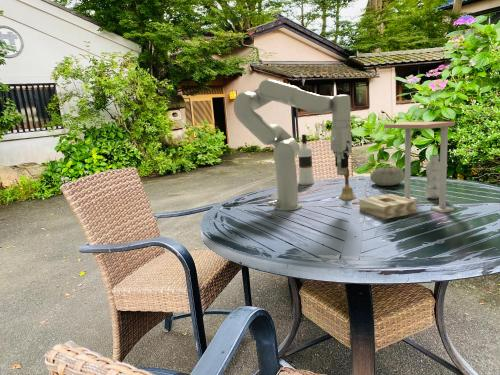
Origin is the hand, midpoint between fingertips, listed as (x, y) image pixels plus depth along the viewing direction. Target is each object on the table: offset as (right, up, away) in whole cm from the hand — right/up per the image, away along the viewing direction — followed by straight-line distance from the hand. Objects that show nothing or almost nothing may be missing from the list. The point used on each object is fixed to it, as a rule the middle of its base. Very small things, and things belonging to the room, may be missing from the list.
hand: (341, 166), depth 160 cm
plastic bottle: (+44, -14, +8) cm, 47 cm away
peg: (0, -3, +1) cm, 3 cm away
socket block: (+18, -19, -6) cm, 27 cm away
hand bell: (+8, -14, +22) cm, 28 cm away
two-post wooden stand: (+32, -17, -2) cm, 36 cm away
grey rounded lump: (+37, -8, +44) cm, 58 cm away
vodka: (-6, -7, +63) cm, 64 cm away
